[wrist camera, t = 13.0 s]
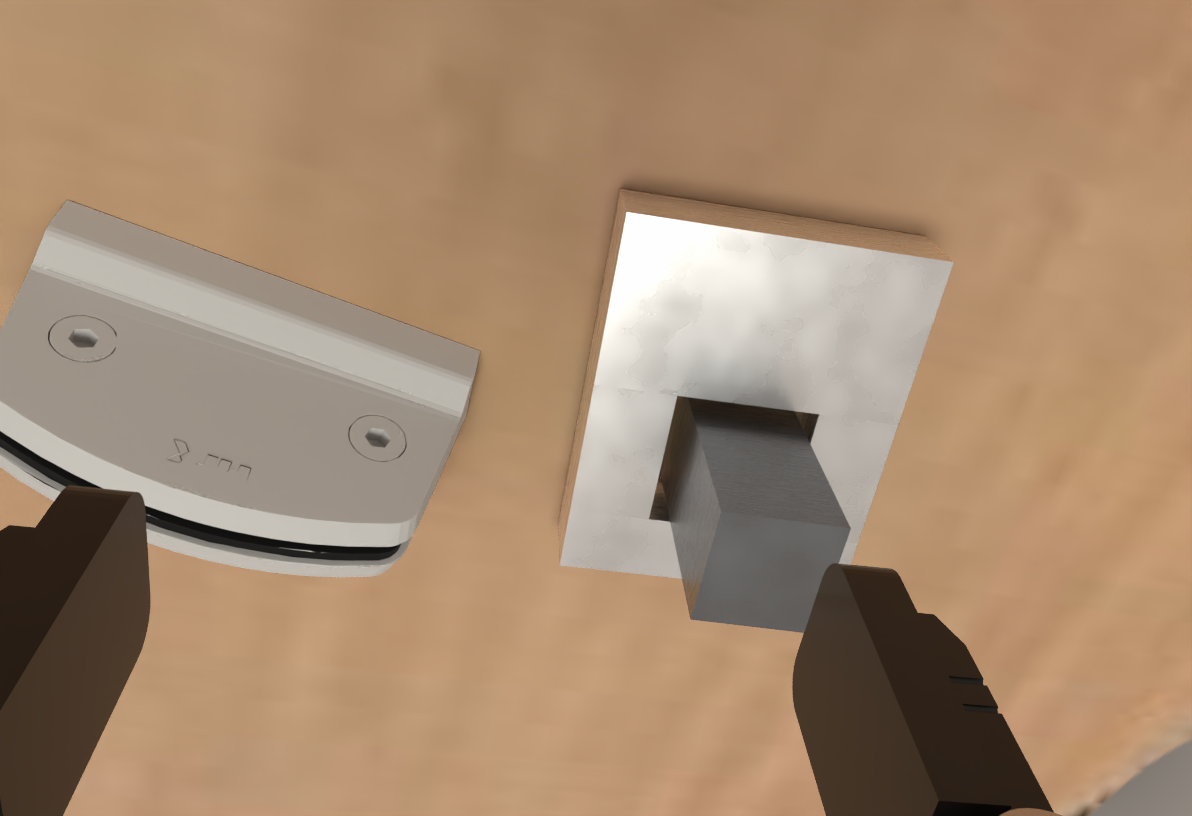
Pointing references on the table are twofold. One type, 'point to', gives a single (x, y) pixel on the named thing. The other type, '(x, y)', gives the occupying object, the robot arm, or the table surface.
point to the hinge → (225, 401)
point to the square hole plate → (740, 357)
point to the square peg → (748, 513)
